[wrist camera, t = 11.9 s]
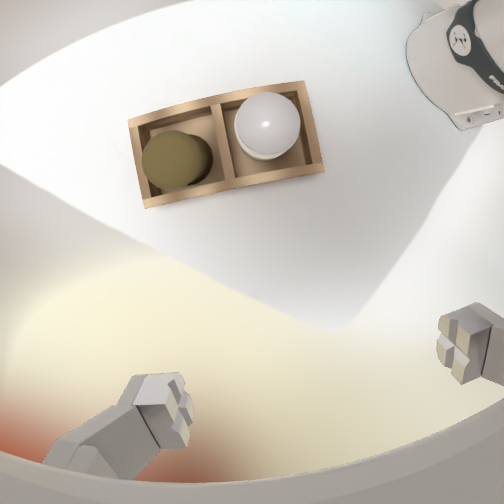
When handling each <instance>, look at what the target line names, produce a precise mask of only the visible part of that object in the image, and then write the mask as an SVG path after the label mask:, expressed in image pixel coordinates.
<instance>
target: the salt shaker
mask: <svg viewBox="0 0 504 504" xmlns="http://www.w3.org/2000/svg"><path fill="white" fill-rule="evenodd" d="M234 128H235V133H236V136H237V140H238V143H239V146H240V148H241V150H242V152H243V153H244V154H245V155H246V156H247V157H249V158H250V159H252V160H255V161H258V162H268V161H271V160H274V159H276V158H277V157H279V156H280V155H281V154H283V153H284V152H286V151H287V150H288V149H290V148H291V147H292V146H293V144H294V143H295V142H296V140H297V138H298V135H299V131H300V116H299V113H298V111H297V109H296V107H295V106H294V104H293V103H292V102H291V101H290V100H289V99H287V98H286V97H284V96H282V95H280V94H277V93H272V92H262V93H258V94H255V95H253V96H251V97H249V98H248V99H247V100H246V101H244V103H243V104H242V105H241V106H240V108H239V110H238V112H237V114H236V117H235V122H234Z"/></svg>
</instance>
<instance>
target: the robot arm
mask: <svg viewBox="0 0 504 504" xmlns="http://www.w3.org/2000/svg"><path fill="white" fill-rule="evenodd" d="M406 53H407V60H408V64H409V67H410V70H411V73H412V75H413V77H414V79H415V81H416V82H417V84H418V86H419V87H420V88H421V90H422V91H423V92H424V94H425V95H426V96H427V97H428V98H429V99H430V100H431V101H432V102H433V103H434V104H435V105H437V106H438V107H439V108H441V109H442V110H443V111H445V112H446V113H447V114H448V115H449V117H450V118H451V120H452V121H453V122H454V124H455V125H456V126H457V127H458V128H459V129H460V130H466V129H469V128H472V127H476V126H479V125H482V124H485V123H489V122H492V121H495V120H499V119H502V118H504V0H470V1H468V2H466V3H465V4H464V5H463V6H459V5H458V4H455V5H452V6H450V7H448V8H447V9H445V10H443V11H441V12H439V13H438V14H434V13H430V12H429V13H426V14H425V15H424V16H423V18H422V21H421V25H420V26H419V27H418V28H416V29H415V30H414V31H413V32H412V33H411V34H410V36H409V38H408V41H407V47H406ZM467 119H468V121H467ZM438 329H439V330H440V332H441V335H440V336H439V338H438V340H437V354H438V358H439V360H440V362H441V363H442V364H443V365H444V366H445V367H448V368H452V370H451V374H452V375H453V376H454V377H455V379H456V380H457V381H458V382H459V383H460V384H461V385H462V384H465V383H467V382H469V381H471V380H474V379H476V378H478V377H480V376H482V377H483V378H485V379H487V380H490V381H493V382H495V383H497V384H500V385H502V386H504V318H502V317H500V316H499V315H497V314H496V313H494V312H493V311H491V310H490V309H488V308H487V307H485V306H484V305H482V304H480V303H477V302H475V303H473V304H471V305H468V306H466V307H464V308H461V309H459V310H456V311H453V312H451V313H448V314H446V315H443V316H441V317H440V319H439V324H438ZM184 386H185V382H184V379H183V377H182V375H181V374H180V373H179V372H176V373H175V372H174V373H160V374H142V375H135V376H132V378H131V379H130V381H129V383H128V385H127V387H126V388H125V390H124V392H123V394H122V396H121V397H120V399H119V401H118V403H117V405H116V406H111V407H109V408H107V409H106V410H104V411H103V412H101V413H100V414H98V415H97V416H95V417H93V418H92V419H90V420H88V421H87V422H85V423H84V424H82V425H81V426H79V427H77V428H75V429H74V430H72V431H70V432H69V433H68V434H66V435H64V436H62V437H61V438H59V439H57V440H56V441H55V443H54V445H53V446H52V448H51V449H50V451H49V452H48V454H47V456H46V457H45V459H44V460H43V462H42V464H40V463H37V462H33V461H30V460H27V459H23V458H20V457H17V456H14V455H11V454H8V453H5V452H2V451H0V504H504V398H503V399H502V400H500V401H498V402H496V403H495V404H493V405H491V406H490V407H488V408H486V409H484V410H482V411H480V412H479V413H477V414H475V415H473V416H471V417H469V418H467V419H465V420H463V421H461V422H459V423H457V424H455V425H453V426H450V427H448V428H446V429H444V430H441V431H439V432H437V433H435V434H432V435H430V436H428V437H425V438H422V439H420V440H418V441H415V442H412V443H410V444H407V445H404V446H402V447H399V448H396V449H393V450H390V451H387V452H384V453H381V454H378V455H375V456H371V457H368V458H364V459H361V460H357V461H354V462H350V463H346V464H342V465H338V466H334V467H330V468H325V469H320V470H316V471H311V472H305V473H300V474H294V475H289V476H281V477H275V478H267V479H258V480H248V481H237V482H221V483H220V482H219V483H163V482H146V481H135V480H134V481H133V480H132V479H133V478H134V477H135V476H136V475H137V474H138V473H139V472H140V471H141V470H142V469H143V468H144V467H145V466H146V465H147V464H148V463H149V462H150V461H151V460H152V459H153V458H154V457H155V456H156V455H157V454H158V453H159V452H160V449H182V448H187V447H188V442H189V437H190V431H189V428H188V426H190V425H191V424H192V423H193V418H194V407H193V403H192V399H191V397H190V394H188V393H187V392H185V391H184V390H183V389H184Z"/></svg>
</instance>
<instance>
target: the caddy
mask: <svg viewBox="0 0 504 504" xmlns="http://www.w3.org/2000/svg"><path fill="white" fill-rule="evenodd" d="M262 92H272V93H277V94H280V95H282V96H284V97H286V98H287V99H289V100H290V101H291V102H292V103H293V104H294V106H295V107H296V109H297V111H298V113H299V116H300V131H299V135H298V138H297V140H296V142H295V143H294V144H293V146H292V147H291V148H290V149H288V150H287V151H286V152H284V153H283V154H281V155H280V156H279V157H277V158H276V159H274V160H271V161H268V162H258V161H255V160H252V159H250V158H249V157H247V156H246V155H245V154H244V153H243V152H242V150H241V148H240V146H239V143H238V140H237V136H236V133H235V128H234V122H235V117H236V114H237V112H238V110H239V108H240V106H241V105H242V104H243V103H244V101H246V100H247V99H248V98H249V97H251V96H253V95H255V94H258V93H262ZM128 125H129V132H130V137H131V143H132V149H133V154H134V160H135V165H136V170H137V175H138V180H139V185H140V189H141V194H142V199H143V203H144V208H145V209H147V208H151V207H155V206H159V205H163V204H167V203H171V202H176V201H180V200H184V199H188V198H193V197H197V196H201V195H206V194H211V193H215V192H220V191H224V190H229V189H234V188H239V187H244V186H249V185H254V184H259V183H264V182H269V181H275V180H280V179H286V178H291V177H297V176H303V175H309V174H315V173H321V172H324V169H323V164H322V158H321V153H320V148H319V143H318V138H317V134H316V129H315V124H314V120H313V115H312V111H311V107H310V102H309V98H308V94H307V90H306V86H305V82H304V81H296V82H289V83H281V84H274V85H268V86H262V87H256V88H250V89H244V90H239V91H234V92H229V93H224V94H220V95H215V96H211V97H206V98H202V99H198V100H194V101H190V102H186V103H182V104H179V105H175V106H171V107H168V108H164V109H161V110H158V111H154V112H151V113H148V114H145V115H141V116H138V117H135V118H132V119H129V120H128ZM167 130H178V131H181V132H184V133H186V134H193V135H196V136H199V137H201V138H202V139H204V140H205V141H206V142H207V143H208V145H209V146H210V148H211V150H212V154H213V165H212V168H211V171H210V173H209V174H208V175H207V176H206V178H205V179H203V180H202V181H201V182H199V183H197V184H194V185H186V186H184V187H182V188H179V189H176V190H165V189H162V188H159V187H157V186H155V185H154V184H152V183H151V182H150V181H149V180H148V178H147V177H146V176H145V174H144V171H143V168H142V154H143V151H144V148H145V146H146V145H147V143H148V142H149V141H150V139H152V138H153V137H154V136H156V135H157V134H158V133H161V132H164V131H167Z"/></svg>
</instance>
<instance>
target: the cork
mask: <svg viewBox="0 0 504 504" xmlns="http://www.w3.org/2000/svg"><path fill="white" fill-rule="evenodd" d="M212 165H213V154H212V150H211V148H210V146H209V145H208V143H207V142H206V141H205V140H204V139H202V138H201V137H199V136H196V135H193V134H186V133H184V132H181V131H178V130H167V131H164V132H161V133H158V134H157V135H156V136H154V137H153V138H152V139H150V141H149V142H148V143H147V145H146V146H145V148H144V151H143V154H142V168H143V171H144V174H145V176H146V177H147V178H148V180H149V181H150V182H151V183H152V184H154V185H155V186H157V187H159V188H162V189H165V190H176V189H179V188H182V187H184V186H186V185H194V184H197V183H199V182H201V181H202V180H203V179H205V178H206V176H207V175H208V174H209V173H210V171H211V168H212Z"/></svg>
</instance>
